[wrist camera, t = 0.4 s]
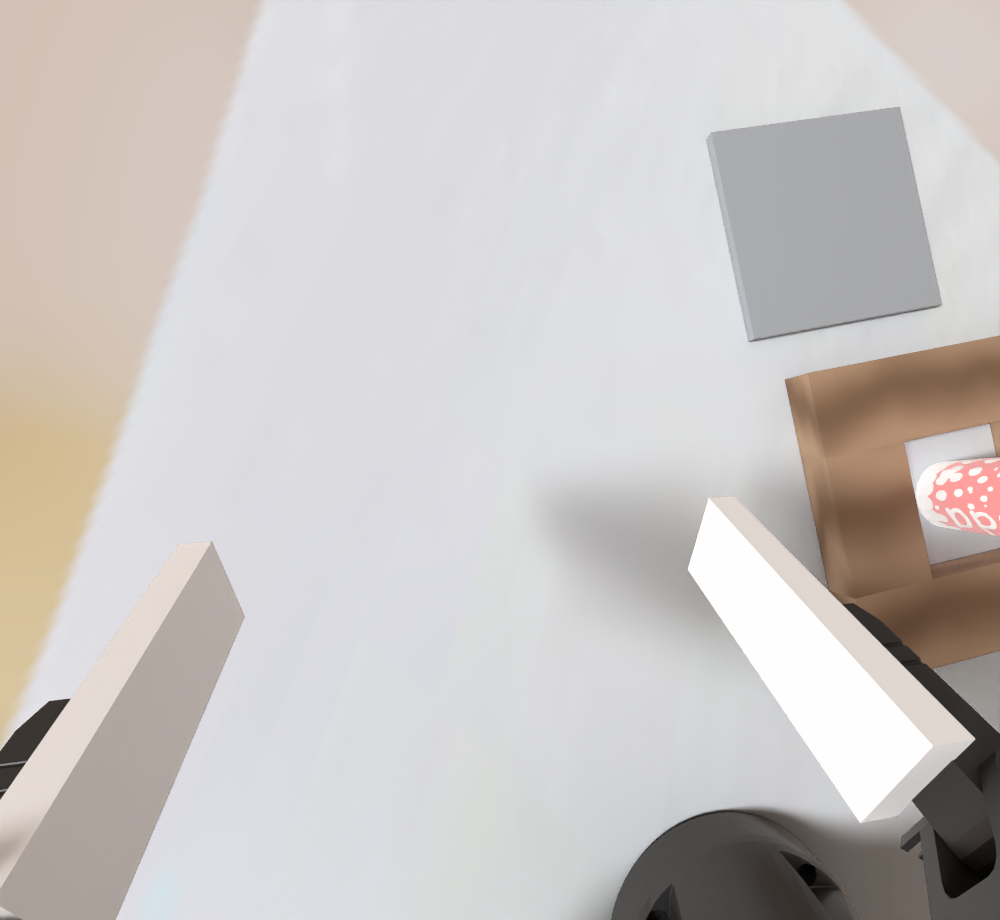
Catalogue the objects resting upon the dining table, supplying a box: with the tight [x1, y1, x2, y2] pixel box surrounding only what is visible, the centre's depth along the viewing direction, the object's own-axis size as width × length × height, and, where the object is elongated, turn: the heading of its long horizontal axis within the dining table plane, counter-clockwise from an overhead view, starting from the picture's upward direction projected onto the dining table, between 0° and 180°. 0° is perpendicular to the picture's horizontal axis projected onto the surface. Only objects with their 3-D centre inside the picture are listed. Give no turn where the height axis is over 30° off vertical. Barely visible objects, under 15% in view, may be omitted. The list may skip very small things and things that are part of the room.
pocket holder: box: [785, 336, 1000, 669], centre depth 30 cm, size 20×20×2 cm
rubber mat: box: [707, 107, 942, 341], centre depth 31 cm, size 14×14×1 cm
